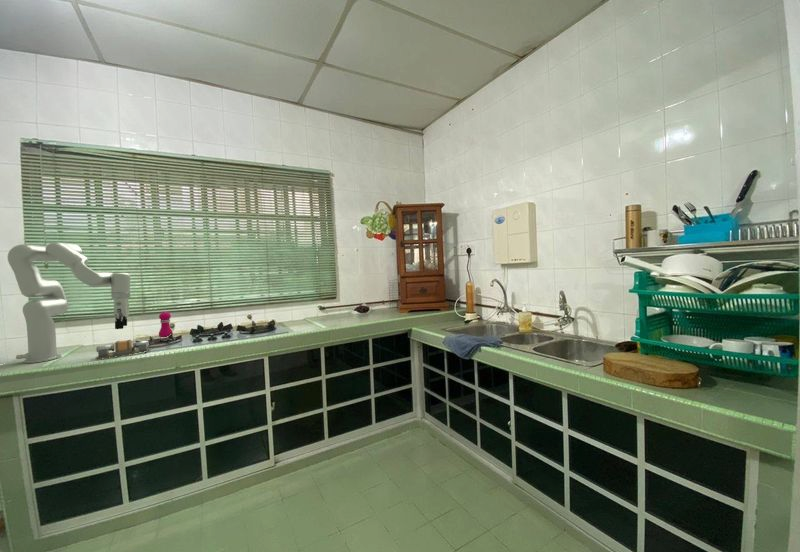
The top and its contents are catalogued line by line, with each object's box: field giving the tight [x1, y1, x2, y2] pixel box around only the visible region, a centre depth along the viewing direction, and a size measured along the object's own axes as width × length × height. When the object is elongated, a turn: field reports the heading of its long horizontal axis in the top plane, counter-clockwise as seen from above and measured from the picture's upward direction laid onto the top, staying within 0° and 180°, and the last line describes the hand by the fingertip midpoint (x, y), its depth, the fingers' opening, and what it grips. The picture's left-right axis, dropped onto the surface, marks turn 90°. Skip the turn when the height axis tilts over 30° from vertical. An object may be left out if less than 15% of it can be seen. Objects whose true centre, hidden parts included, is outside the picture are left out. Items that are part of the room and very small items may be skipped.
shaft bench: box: [95, 340, 150, 360], centre depth 164 cm, size 21×10×6 cm, turn 124°
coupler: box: [114, 339, 133, 352], centre depth 164 cm, size 6×5×6 cm
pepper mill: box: [158, 309, 174, 338], centre depth 195 cm, size 7×7×20 cm
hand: (121, 327), depth 163 cm, fingers open, 9 cm apart
